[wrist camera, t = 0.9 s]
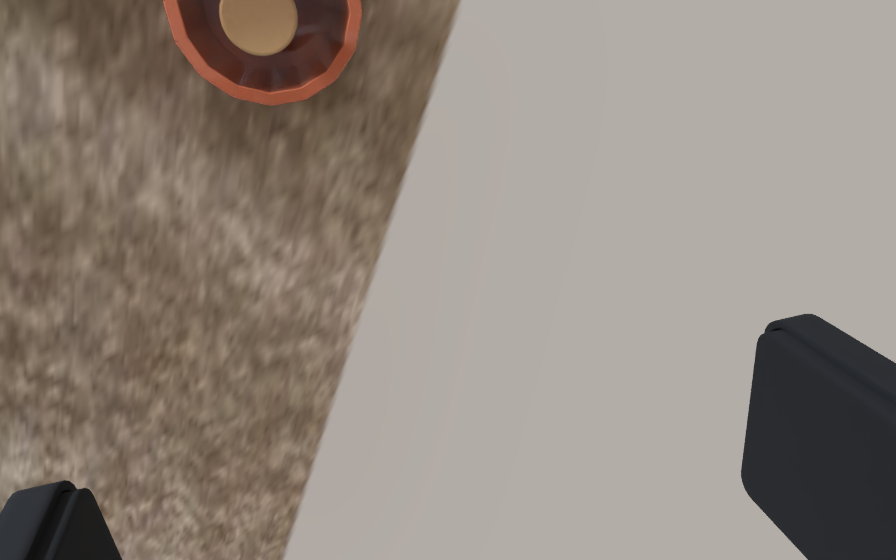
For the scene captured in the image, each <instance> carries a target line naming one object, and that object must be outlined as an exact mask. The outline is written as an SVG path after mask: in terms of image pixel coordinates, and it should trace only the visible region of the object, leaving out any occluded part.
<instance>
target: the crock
mask: <svg viewBox="0 0 896 560" xmlns="http://www.w3.org/2000/svg"><path fill="white" fill-rule="evenodd" d="M220 1H221V0H163V4H164V8H165V11H166V14H167V18H168V21H169V24H170V28H171V31H172V34H173V38H174V41H175V42H176V44H177V46H178V47H179V48H180V50H181V51H182V52H183V54H184V55H185V56H186V58H187V59H188V60H189V62H190V63H191V64H192V66H193V67H194V68H195V70H196V71H197V72H198V74H199V75H201V77H203V78H204V79H206V80H207V81H209V82H210V83H212V84H213V85H215V86H216V87H218V88H219V89H221V90H222V91H224V92H225V93H227V94H229V95H230V96H232V97H234V98H236V99H241V100H246V101H250V102H255V103H259V104H264V105H268V106H270V105H271V106H274V105H280V104H286V103H292V102H298V101H303V100H306V99H309V98H310V97H312V96H313V95H315V94H316V93H318V92H319V91H321V90H322V89H324V88H325V87H327V86H328V85H330V84H332V83H333V82H335V80H337V78H338V77H339V75H340V74H341V72H342V71H343V69H344V68H345V66H346V65H347V63H348V61H349V60H350V58H351V57H352V55H353V54H354V52H355V50H356V46H357V41H358V36H359V31H360V26H361V21H362V12H363V11H362V5H361V0H293V1H294V3H295V6H296V9H297V15H298V24H297V25H298V26H299V29H298V30H297V31H296V33H295V35H294V37H293V39H292V41H291V42H290V44H289V45H288V46H287V47H286V48H284V49H283V50H282V51H280V52H278V53H276V54H273V55H269V56H257V55H252V54H249V53H247V52H245V51H243V50H241V49H239V48H238V47H237V46H236V45H234V44H233V43H232V42H231V40H230V39H229V38H228V37H227V35H226V33H225V32H224V30H223V27H222V25H221V21H220V16H219V6H220Z"/></svg>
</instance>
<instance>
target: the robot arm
mask: <svg viewBox="0 0 896 560" xmlns="http://www.w3.org/2000/svg"><path fill="white" fill-rule="evenodd" d="M741 477H742V482H743V485H744V488H745V490H746V491H747V493H748V495H749V496H750V497H751V499H752V500H753V501H754V502H755V503H756V504H757V505H758V506H759V507H760V508H761V509H762V510H763V512H764V513H765V514H766V515H767V516H768V517H769V518H770V519H771V520H772V521H773V522H774V524H775V525H776V526H777V527H778V528H779V529H780V530H781V531H782V532H783V533H784V534H785V535H786V536H787V537H788V539H789V540H791V542H792V543H793V544H794V545H795V546H796V547H797V548H798V549H799V550H800V551H801V553H802V554H803V555H804V556H805V557H806V558H807V559H808V560H896V363H894V362H893V361H891V360H889V359H888V358H886V357H884V356H883V355H881V354H879V353H878V352H876V351H874V350H873V349H871V348H869V347H868V346H866V345H864V344H863V343H861V342H860V341H858V340H856V339H854V338H853V337H851V336H850V335H848V334H846V333H845V332H843V331H841V330H840V329H838V328H836V327H835V326H833V325H831V324H829V323H828V322H826V321H825V320H823V319H821V318H820V317H818V316H816V315H813V314H803V315H799V316H794V317H790V318H785V319H781V320H777V321H773V322H771V323H769V325H768V326H767V327H766V329H765V333H764V334H762V335H761V336H760V337H759V339H758V342H757V347H756V356H755V364H754V372H753V380H752V388H751V397H750V404H749V413H748V420H747V429H746V437H745V445H744V453H743V461H742V469H741ZM0 560H122V558H121V556H120V554H119V552H118V549H117V547H116V545H115V543H114V540H113V538H112V536H111V534H110V531H109V529H108V527H107V525H106V522H105V520H104V518H103V516H102V513H101V511H100V509H99V507H98V504H97V502H96V500H95V498H94V496H93V494H92V492H91V491H90V490H89V489H87V488H83V489H78V490H77V489H76V487H75V485H74V484H72V483H71V482H70V481H65V480H64V481H60V482H56V483H51V484H47V485H42V486H38V487H33V488H29V489H24V490H20V491H17V492H15V493H13V494H12V495H11V497H10V498H9V499H8V501H7V503H6V505H5V506H4V508H3V510H2V512H1V514H0Z"/></svg>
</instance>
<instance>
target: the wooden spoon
mask: <svg viewBox="0 0 896 560" xmlns="http://www.w3.org/2000/svg"><path fill="white" fill-rule="evenodd" d="M219 16H220V21H221V25H222V27H223V30H224V32H225V33H226V35H227V37H228V38H229V39H230V40H231V42H232V43H233V44H234V45H236V46H237V47H238V48H239V49H241V50H243V51H245V52H247V53H249V54H252V55H257V56H269V55H273V54H276V53H278V52H280V51H282V50H283V49H284V48H286V47H287V46H288V45H289V44H290V42H291V41H292V39H293V37H294V35H295V33H296V31H297V30H298V29H299V26H298V25H297V24H298V15H297V9H296V6H295V3H294V1H293V0H221V1H220V6H219Z"/></svg>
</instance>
